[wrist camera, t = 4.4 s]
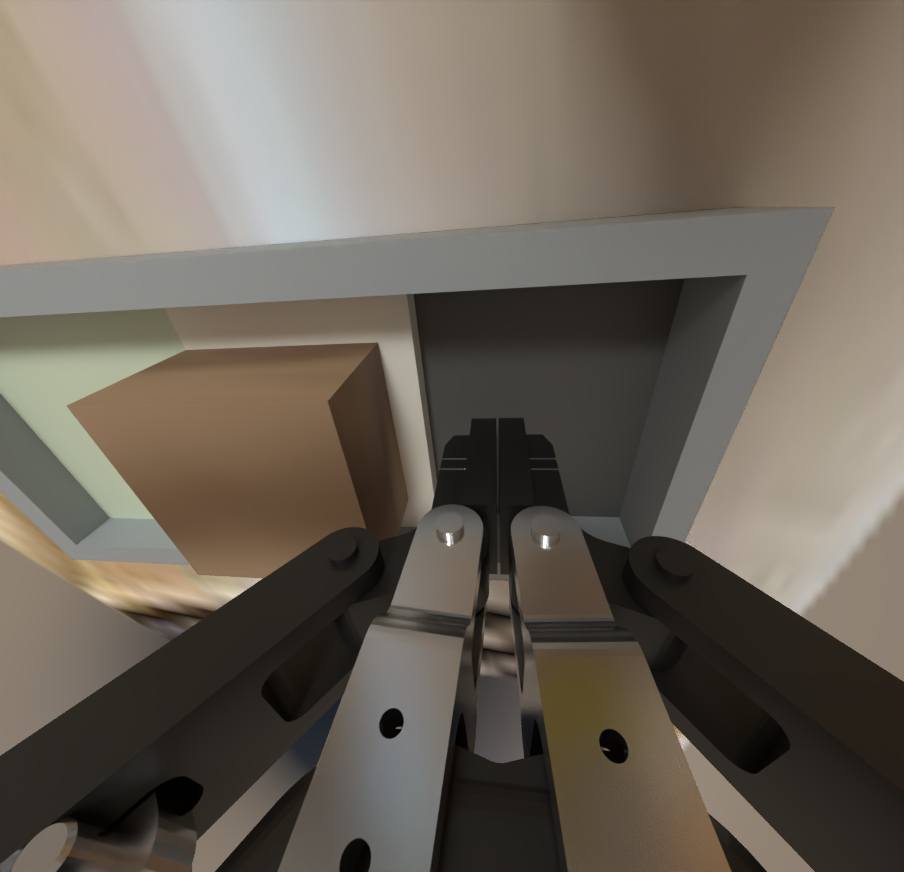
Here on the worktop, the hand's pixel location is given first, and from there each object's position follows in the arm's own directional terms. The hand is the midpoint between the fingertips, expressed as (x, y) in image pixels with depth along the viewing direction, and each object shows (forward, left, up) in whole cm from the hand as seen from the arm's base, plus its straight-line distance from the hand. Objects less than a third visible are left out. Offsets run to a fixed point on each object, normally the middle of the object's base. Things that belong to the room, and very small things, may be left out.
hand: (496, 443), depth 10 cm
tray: (0, -6, -2) cm, 7 cm away
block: (0, -6, -1) cm, 6 cm away
